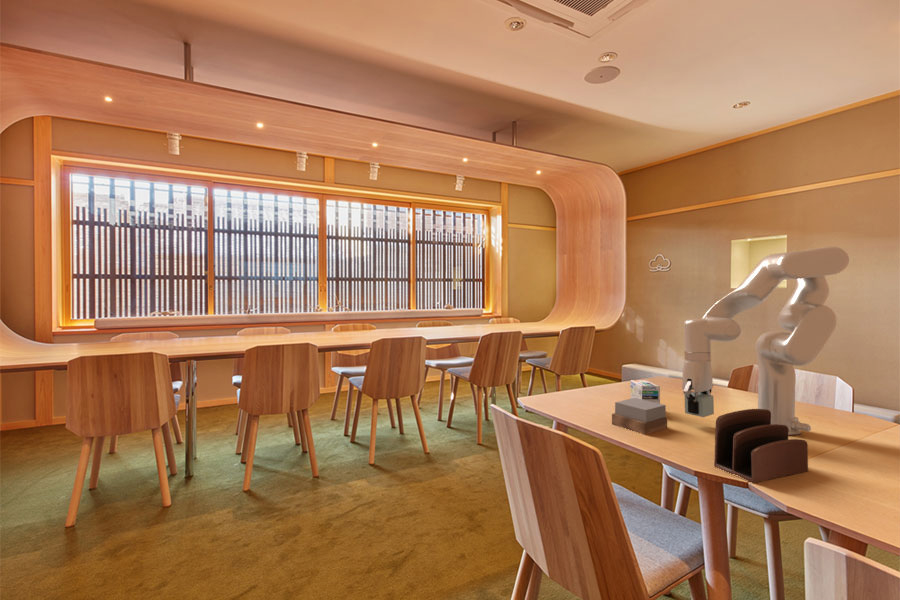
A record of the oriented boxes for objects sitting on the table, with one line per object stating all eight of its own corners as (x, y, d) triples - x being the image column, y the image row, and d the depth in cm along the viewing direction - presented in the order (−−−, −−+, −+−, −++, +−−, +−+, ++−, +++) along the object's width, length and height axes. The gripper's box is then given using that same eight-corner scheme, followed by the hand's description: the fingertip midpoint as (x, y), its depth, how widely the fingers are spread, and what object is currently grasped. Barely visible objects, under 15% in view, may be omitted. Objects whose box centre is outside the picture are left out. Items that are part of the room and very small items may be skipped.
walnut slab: (667, 429, 137) (667, 417, 137) (644, 436, 131) (644, 423, 131) (634, 420, 147) (634, 408, 147) (611, 425, 141) (611, 413, 141)
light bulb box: (660, 415, 151) (660, 386, 151) (641, 415, 151) (641, 385, 151) (647, 407, 162) (647, 379, 162) (629, 407, 162) (629, 379, 162)
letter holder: (713, 467, 107) (714, 412, 107) (766, 457, 114) (767, 405, 113) (753, 484, 98) (754, 424, 97) (808, 472, 104) (810, 415, 104)
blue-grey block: (713, 414, 137) (713, 395, 137) (703, 417, 134) (703, 398, 134) (695, 409, 142) (694, 392, 142) (685, 413, 139) (684, 395, 139)
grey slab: (665, 417, 138) (665, 405, 137) (645, 422, 132) (645, 410, 132) (634, 409, 147) (634, 397, 147) (615, 414, 141) (615, 402, 141)
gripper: (700, 352, 145) (702, 404, 146) (670, 358, 137) (672, 413, 137) (723, 355, 139) (725, 409, 139) (694, 361, 130) (695, 418, 131)
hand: (699, 410), depth 138 cm, fingers closed on blue-grey block, 6 cm apart
